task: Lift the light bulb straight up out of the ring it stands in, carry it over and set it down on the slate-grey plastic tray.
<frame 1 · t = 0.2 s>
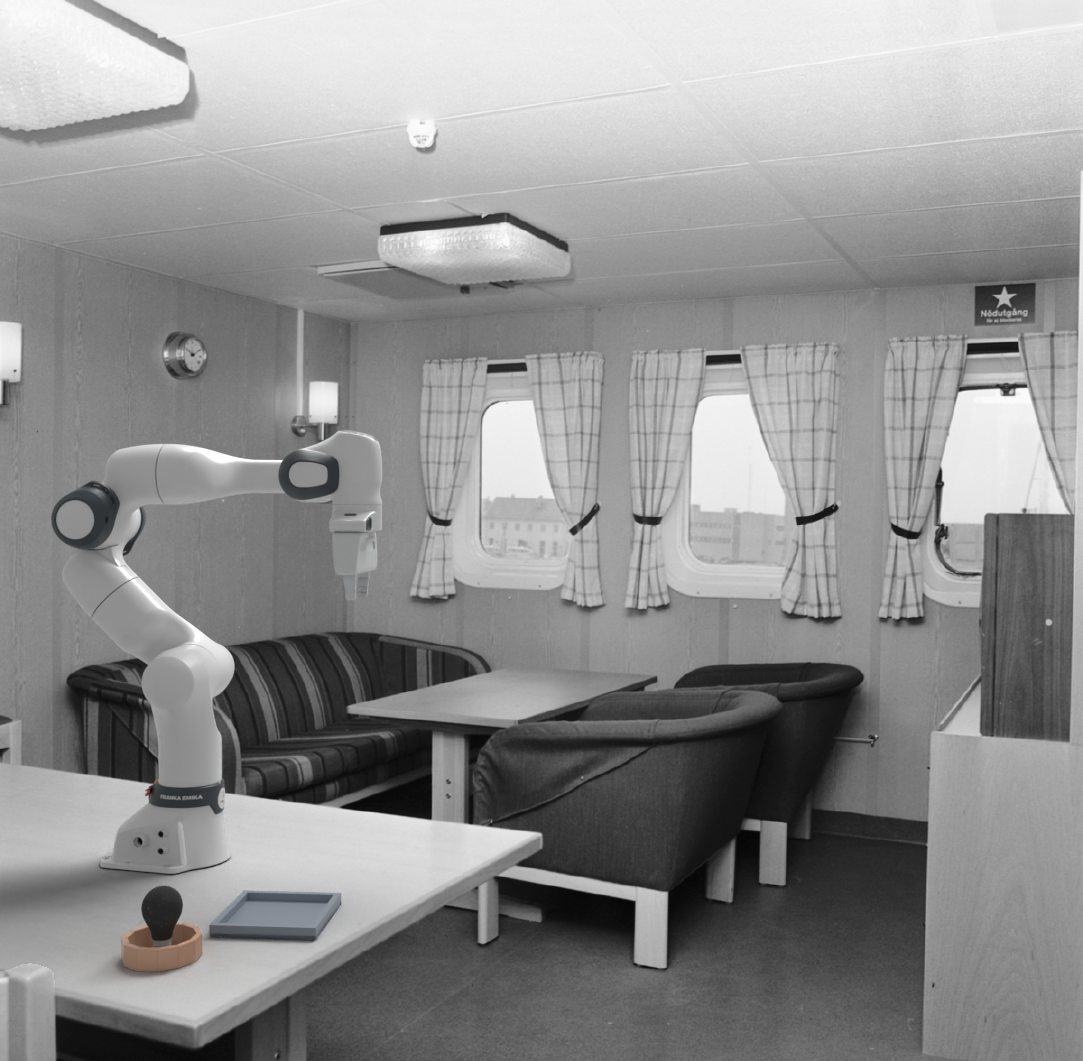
hand: (356, 598, 209), 48 cm above the table, fingers open, 8 cm apart
light bulb: (162, 957, 166), resting in ring
tray: (278, 919, 181), on the table
ring: (162, 956, 166), on the table
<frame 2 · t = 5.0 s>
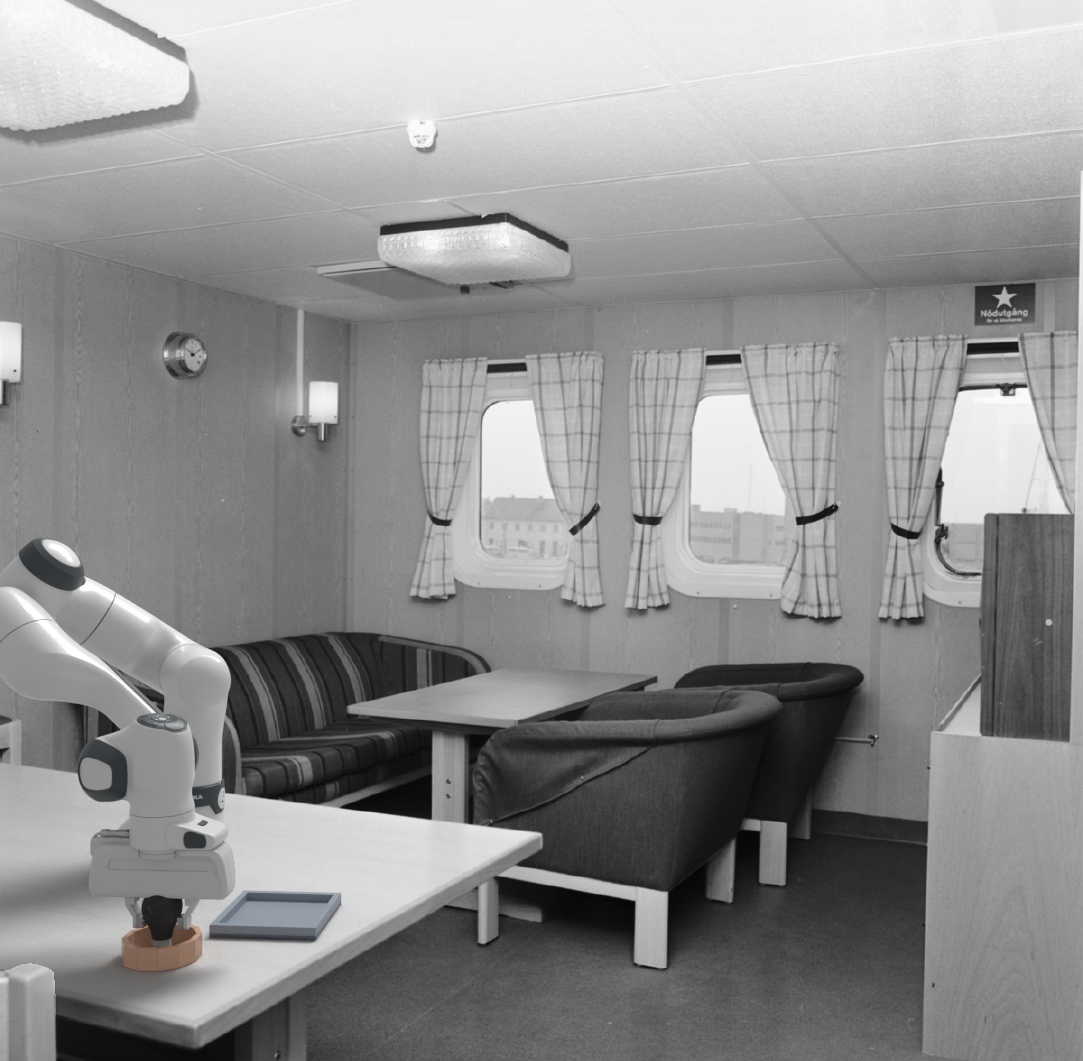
hand: (162, 927, 165), 4 cm above the table, fingers closed on light bulb, 5 cm apart
light bulb: (162, 957, 166), resting in ring, touching gripper
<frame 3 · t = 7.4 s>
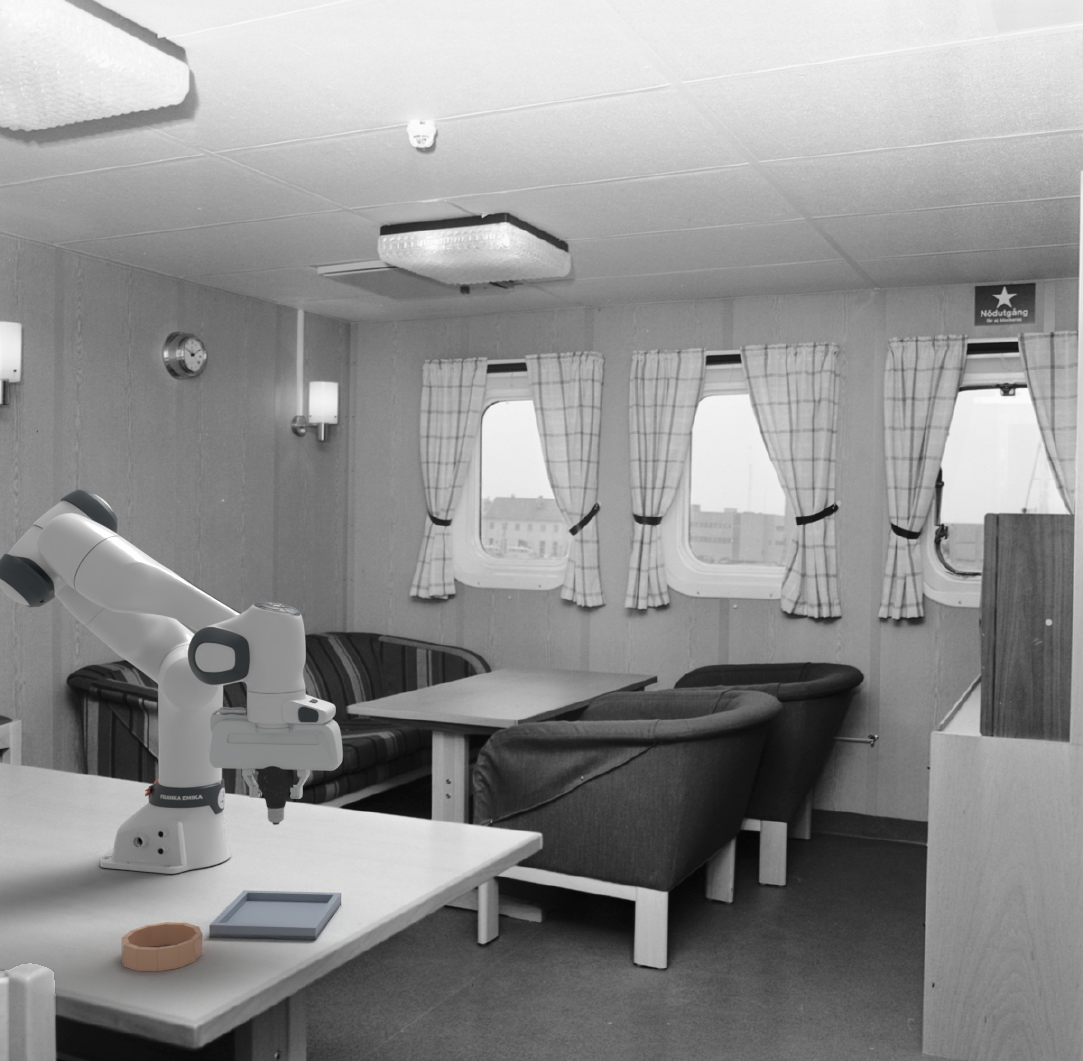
hand: (276, 797, 180), 19 cm above the table, fingers closed on light bulb, 5 cm apart
light bulb: (276, 825, 180), point 15 cm above the table, touching gripper
when the fingers open (6 cm above the table, at t = 10.1 s): light bulb stays where it is, resting on tray.
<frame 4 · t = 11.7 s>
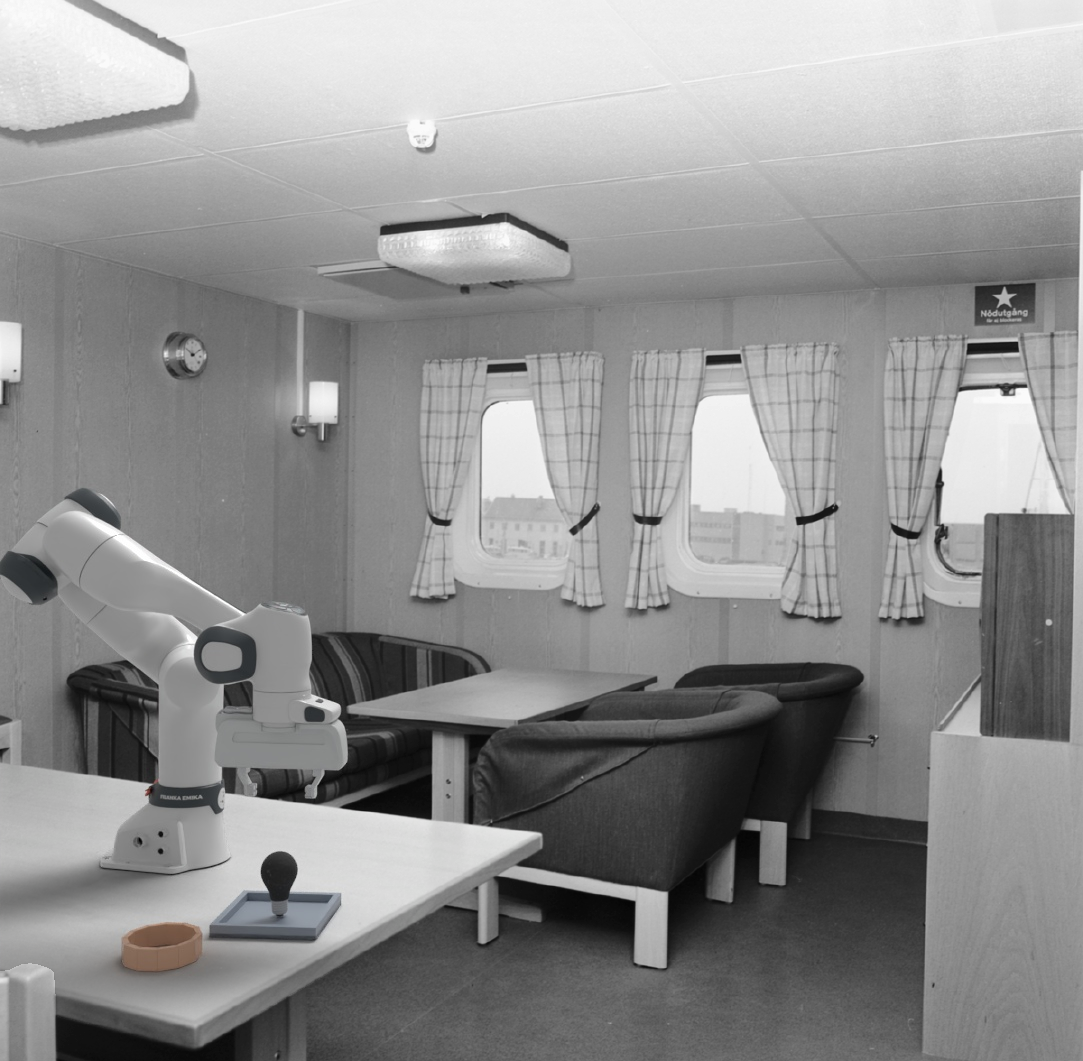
hand: (280, 796, 181), 19 cm above the table, fingers open, 8 cm apart
light bulb: (279, 917, 181), resting on tray
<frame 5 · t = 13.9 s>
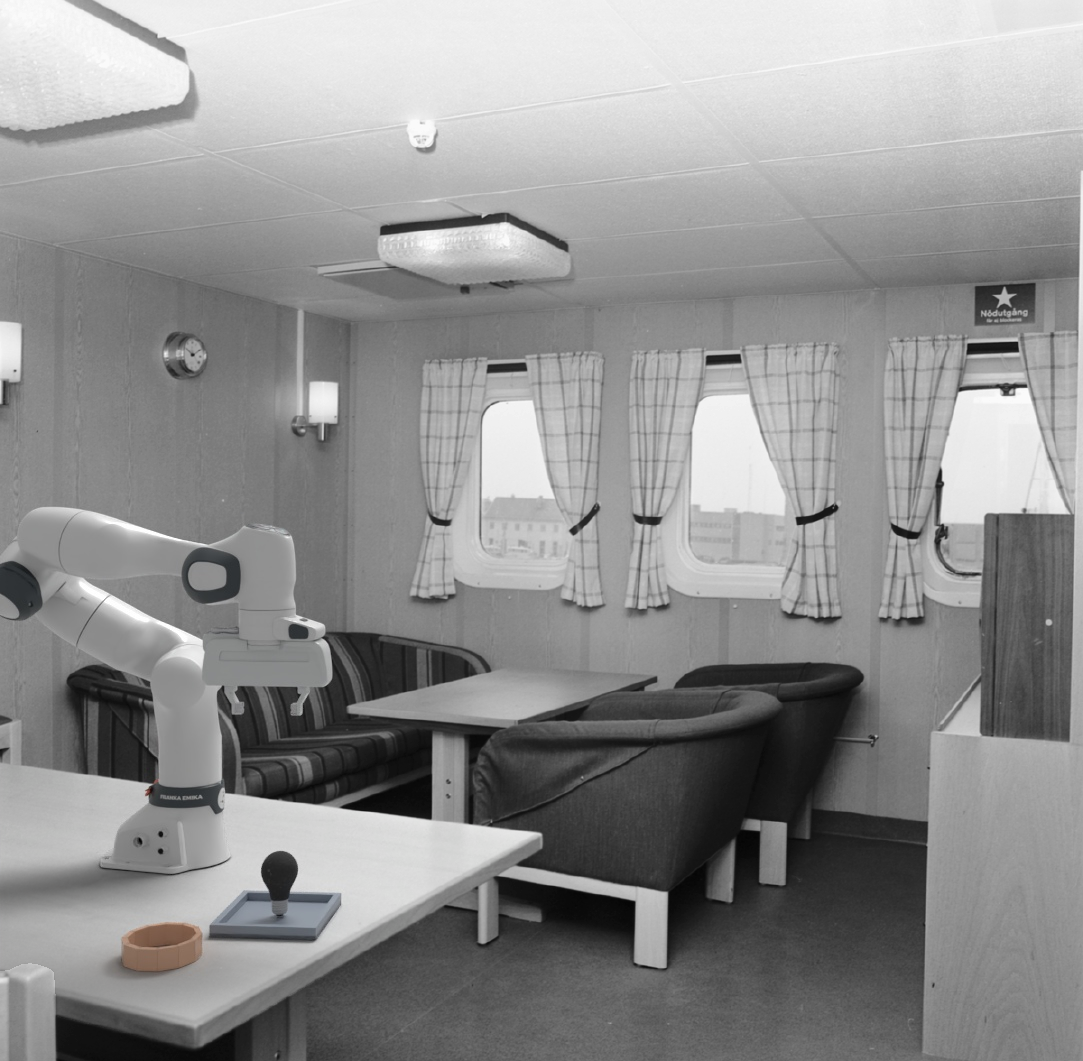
hand: (267, 714, 184), 31 cm above the table, fingers open, 8 cm apart
nothing on the table moved.
at the end: light bulb inside the target area on the tray (0.3 cm from its centre), point 0.4 cm above the tray's base; the gripper is holding nothing; light bulb moved 20.1 cm from its start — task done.
